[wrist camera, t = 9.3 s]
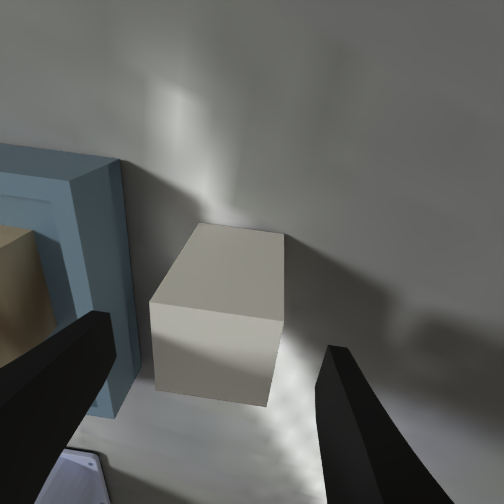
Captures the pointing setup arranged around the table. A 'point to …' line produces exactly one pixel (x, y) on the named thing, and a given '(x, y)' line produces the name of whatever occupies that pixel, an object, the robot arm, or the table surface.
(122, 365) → the tote
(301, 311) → the table surface
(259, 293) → the cream carton
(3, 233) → the oak block
